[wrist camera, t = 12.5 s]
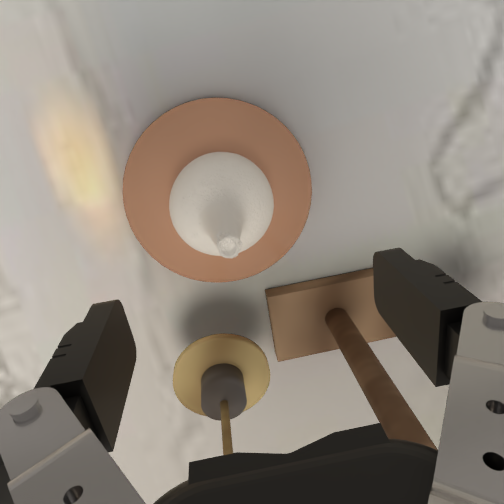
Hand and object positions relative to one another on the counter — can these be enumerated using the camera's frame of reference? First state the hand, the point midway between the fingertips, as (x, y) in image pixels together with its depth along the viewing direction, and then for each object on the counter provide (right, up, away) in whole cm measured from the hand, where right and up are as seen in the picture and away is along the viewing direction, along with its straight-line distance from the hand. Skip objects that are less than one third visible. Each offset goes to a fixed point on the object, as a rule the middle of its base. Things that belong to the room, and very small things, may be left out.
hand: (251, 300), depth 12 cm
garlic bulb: (-2, +5, +13) cm, 14 cm away
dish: (-2, +5, +14) cm, 15 cm away
